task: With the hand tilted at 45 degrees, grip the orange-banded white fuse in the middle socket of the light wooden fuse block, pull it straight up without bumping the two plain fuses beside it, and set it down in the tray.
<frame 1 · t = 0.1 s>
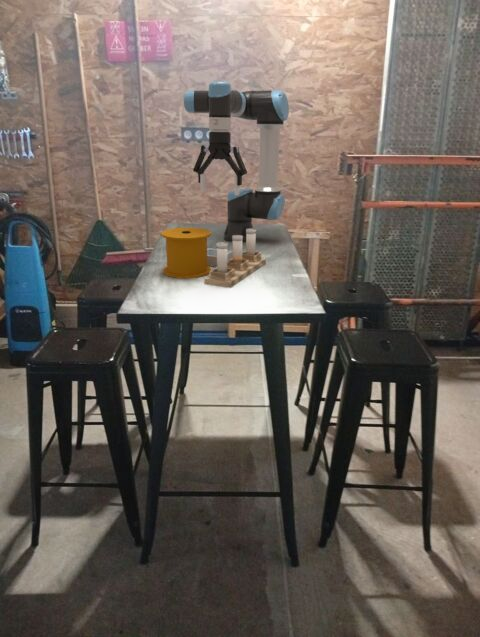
hand: (219, 193, 176), 28 cm above the table, fingers open, 13 cm apart
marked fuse: (237, 267, 180), point 2 cm above the table, touching fuse block
tray: (214, 262, 194), on the table
fuse 1: (222, 277, 169), point 2 cm above the table, touching fuse block
fuse 2: (250, 259, 191), point 2 cm above the table, touching fuse block
fuse block: (237, 273, 181), on the table
spool: (187, 271, 182), on the table
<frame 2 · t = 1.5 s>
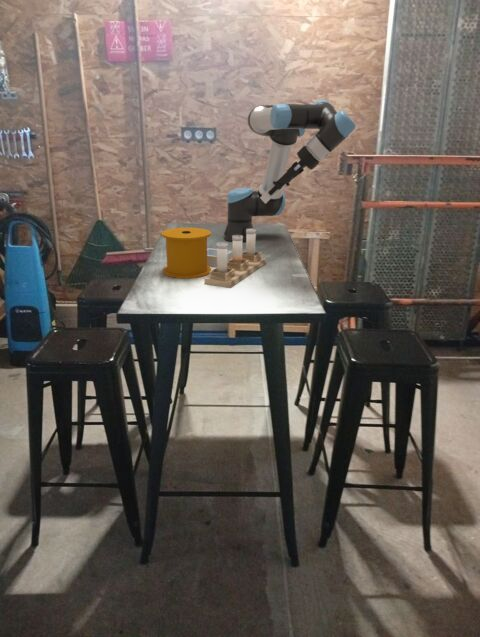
hand: (266, 197, 168), 28 cm above the table, fingers open, 13 cm apart
nothing on the table moved.
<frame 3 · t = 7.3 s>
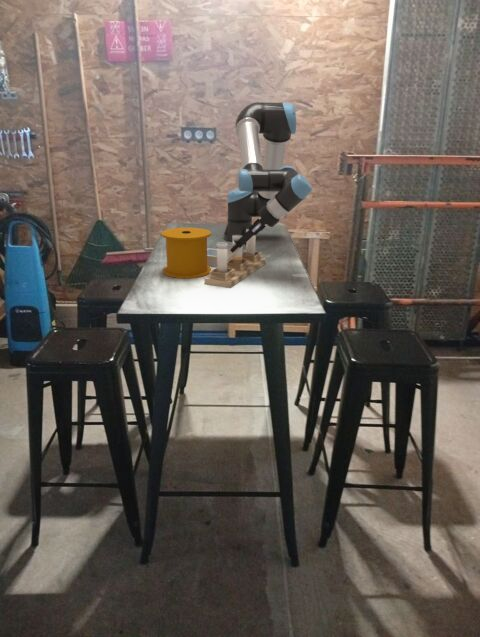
hand: (227, 254, 179), 7 cm above the table
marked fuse: (237, 267, 180), point 2 cm above the table, touching gripper
everything else where it was.
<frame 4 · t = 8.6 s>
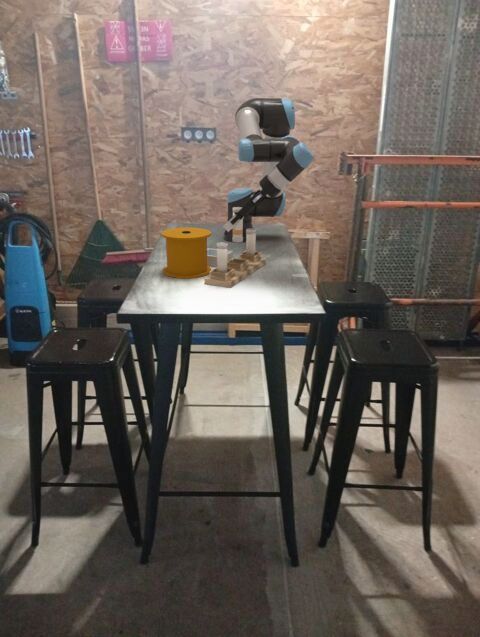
hand: (227, 227, 175), 17 cm above the table
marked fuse: (237, 241, 176), point 12 cm above the table, touching gripper
everything else where it was.
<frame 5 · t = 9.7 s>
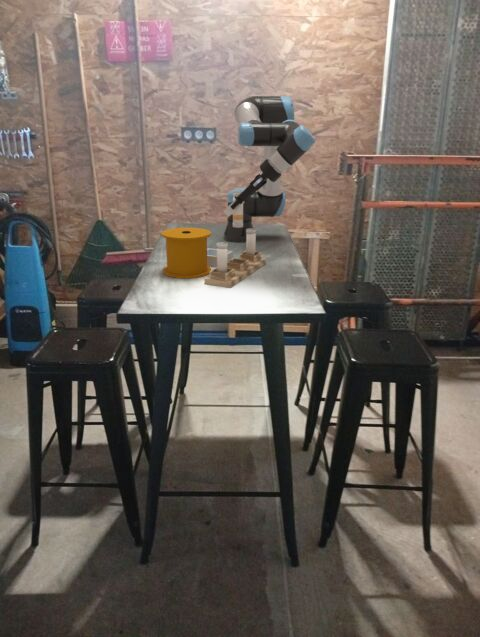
hand: (227, 212, 174), 22 cm above the table
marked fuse: (237, 226, 175), point 17 cm above the table, touching gripper
everything else where it was.
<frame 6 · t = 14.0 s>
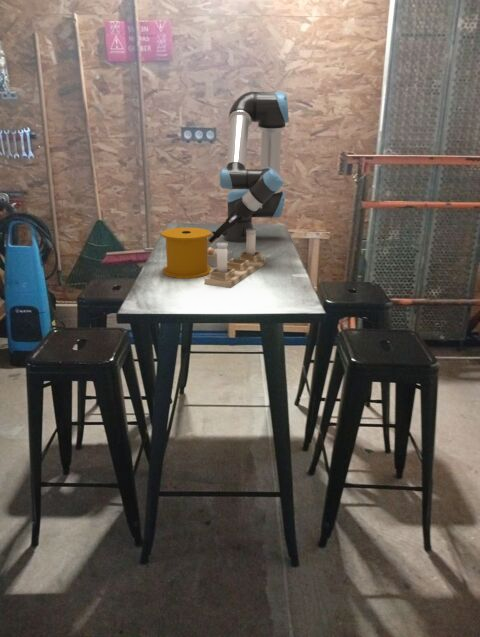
hand: (207, 245, 191), 7 cm above the table, fingers open, 5 cm apart
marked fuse: (219, 256, 191), point 3 cm above the table, tilted 68°, touching gripper, tray
everything else where it was.
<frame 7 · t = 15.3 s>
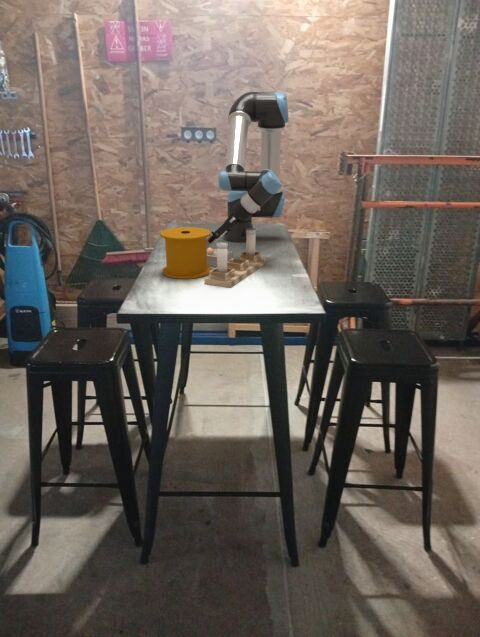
hand: (209, 243, 192), 8 cm above the table, fingers open, 13 cm apart
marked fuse: (219, 257, 190), point 3 cm above the table, tilted 67°, touching tray
spool: (187, 271, 181), on the table, touching gripper
everything else where it was.
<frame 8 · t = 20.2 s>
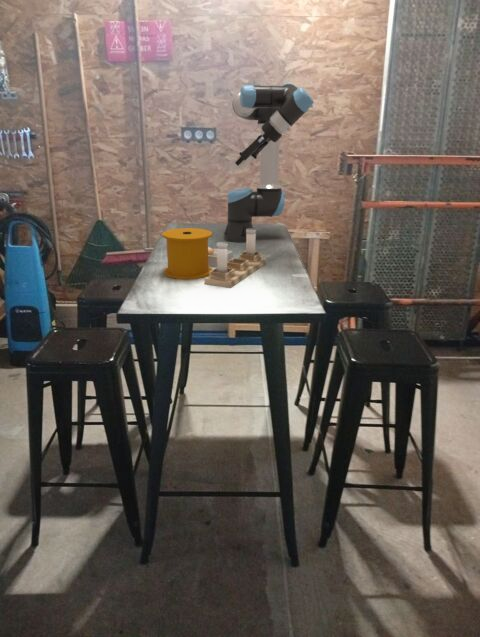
hand: (235, 169, 184), 36 cm above the table, fingers open, 13 cm apart
spool: (188, 272, 181), on the table
everything else where it was.
at the end: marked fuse 3.4 cm off-centre on the tray, point 2.7 cm above the tray's base; fuse 2 moved 0.0 cm from its start; fuse 1 moved 0.0 cm from its start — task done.
